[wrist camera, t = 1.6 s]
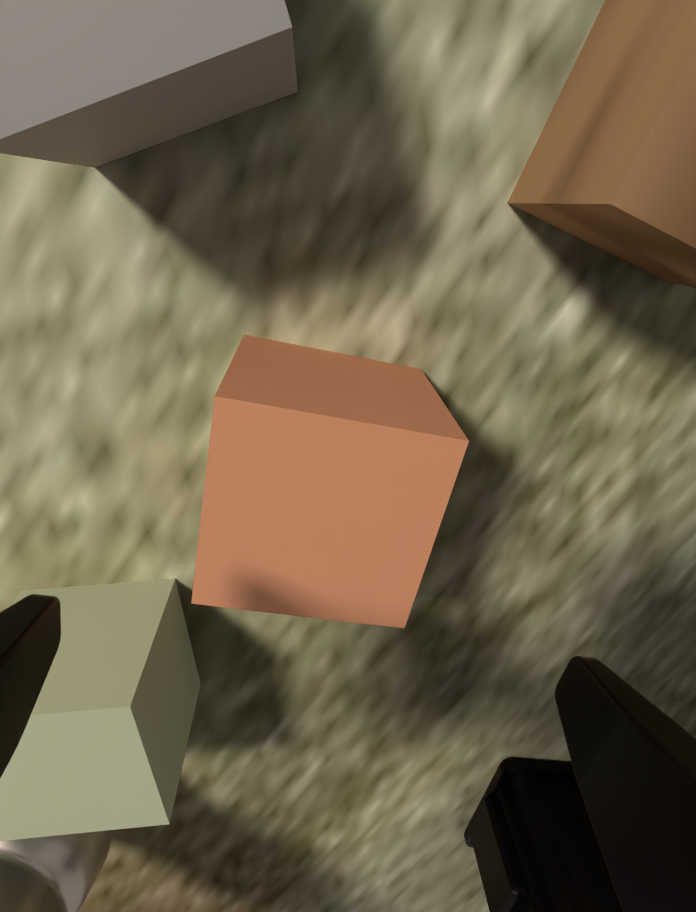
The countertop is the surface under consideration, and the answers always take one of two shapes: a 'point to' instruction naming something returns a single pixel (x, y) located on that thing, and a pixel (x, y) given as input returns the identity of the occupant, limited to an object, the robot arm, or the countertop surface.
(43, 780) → the sage block
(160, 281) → the countertop surface
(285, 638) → the countertop surface
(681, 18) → the walnut block
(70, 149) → the slate block
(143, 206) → the countertop surface
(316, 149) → the countertop surface
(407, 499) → the terracotta block
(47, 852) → the plastic bottle
